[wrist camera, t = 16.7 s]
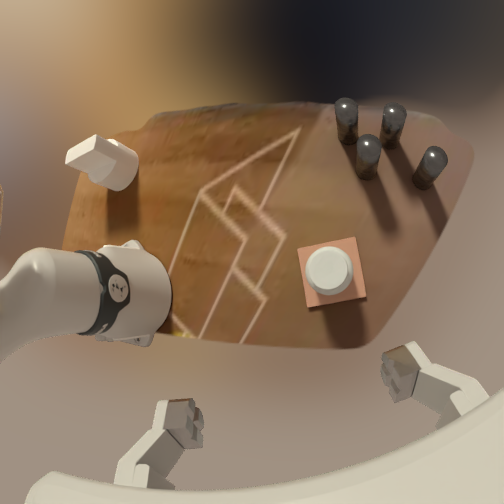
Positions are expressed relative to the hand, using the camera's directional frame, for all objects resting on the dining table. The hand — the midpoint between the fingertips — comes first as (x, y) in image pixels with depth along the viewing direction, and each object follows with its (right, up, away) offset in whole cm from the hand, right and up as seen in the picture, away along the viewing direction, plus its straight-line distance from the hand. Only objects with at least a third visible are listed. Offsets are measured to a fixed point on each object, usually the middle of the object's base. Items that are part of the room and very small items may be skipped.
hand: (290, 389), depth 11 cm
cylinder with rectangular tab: (-28, +22, +41) cm, 54 cm away
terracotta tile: (+9, +3, +26) cm, 28 cm away
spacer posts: (+18, +19, +25) cm, 36 cm away
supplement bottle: (+9, +3, +26) cm, 28 cm away
